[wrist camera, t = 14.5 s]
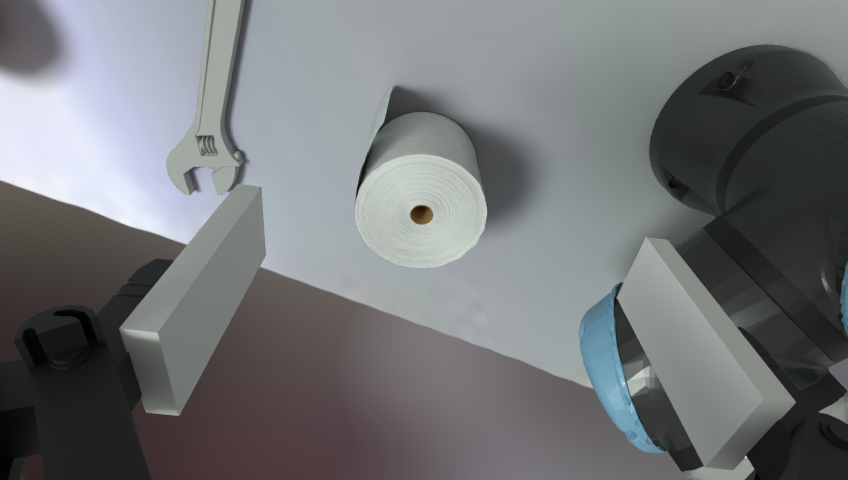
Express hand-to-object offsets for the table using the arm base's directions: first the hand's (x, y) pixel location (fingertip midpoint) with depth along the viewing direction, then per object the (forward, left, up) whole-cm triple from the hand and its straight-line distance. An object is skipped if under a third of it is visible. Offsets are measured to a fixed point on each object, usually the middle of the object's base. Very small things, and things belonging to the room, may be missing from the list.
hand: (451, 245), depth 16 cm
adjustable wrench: (+18, +4, -29) cm, 34 cm away
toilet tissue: (+1, +9, -28) cm, 30 cm away
